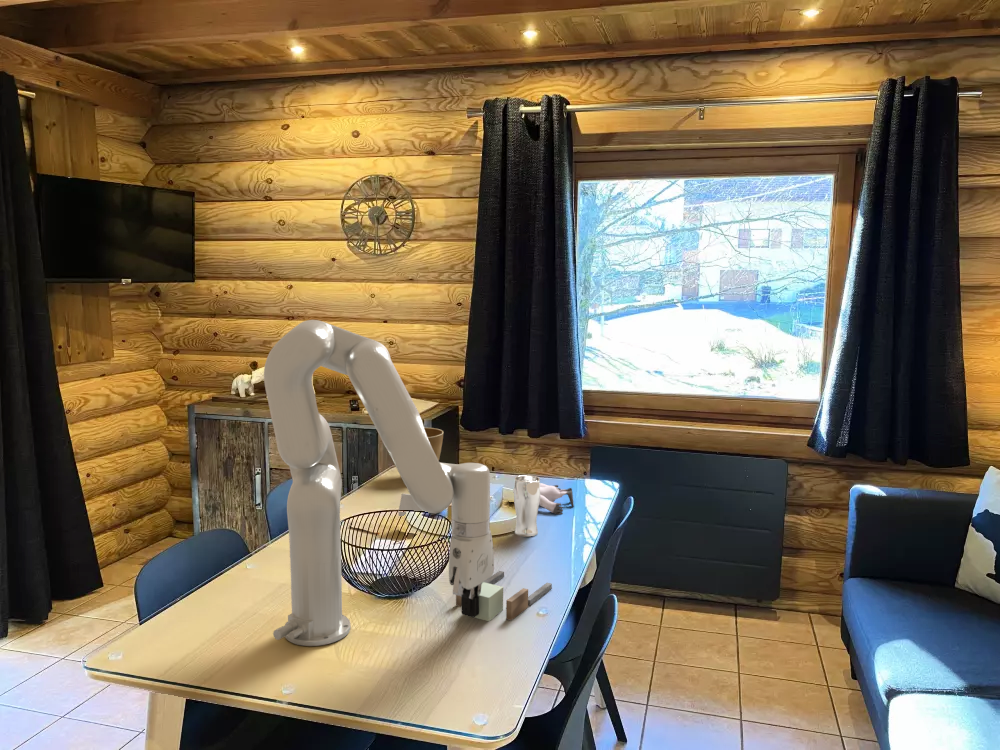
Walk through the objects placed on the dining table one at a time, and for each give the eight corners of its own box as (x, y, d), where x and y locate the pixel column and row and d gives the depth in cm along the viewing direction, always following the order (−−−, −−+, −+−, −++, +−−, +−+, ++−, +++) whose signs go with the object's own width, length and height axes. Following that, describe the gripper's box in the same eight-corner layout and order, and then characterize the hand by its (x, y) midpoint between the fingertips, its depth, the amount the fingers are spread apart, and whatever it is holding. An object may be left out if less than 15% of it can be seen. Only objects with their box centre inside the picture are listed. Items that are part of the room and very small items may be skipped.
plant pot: (430, 471, 267) (430, 425, 264) (451, 482, 254) (451, 434, 252) (389, 477, 259) (389, 430, 256) (410, 489, 246) (409, 439, 244)
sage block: (488, 621, 158) (489, 597, 157) (463, 614, 161) (463, 591, 160) (503, 609, 163) (503, 586, 162) (478, 603, 166) (478, 580, 165)
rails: (530, 605, 165) (530, 600, 165) (476, 591, 172) (476, 586, 172) (551, 588, 174) (551, 583, 174) (499, 575, 180) (499, 570, 180)
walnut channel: (511, 620, 158) (511, 601, 158) (455, 604, 165) (456, 586, 165) (527, 607, 164) (528, 589, 164) (473, 593, 171) (474, 575, 171)
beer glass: (544, 531, 210) (545, 477, 207) (531, 539, 204) (532, 483, 202) (521, 526, 213) (522, 473, 211) (508, 534, 207) (509, 479, 205)
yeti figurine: (577, 502, 242) (513, 496, 246) (578, 480, 242) (514, 475, 245) (570, 517, 223) (501, 511, 226) (572, 494, 222) (502, 488, 226)
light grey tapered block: (421, 535, 206) (421, 498, 204) (398, 532, 208) (398, 495, 207) (427, 531, 209) (427, 494, 208) (405, 527, 212) (404, 491, 210)
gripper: (465, 541, 146) (465, 634, 149) (506, 519, 159) (505, 605, 162) (432, 534, 150) (433, 624, 153) (475, 512, 163) (474, 596, 165)
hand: (470, 614), depth 157 cm, fingers closed
